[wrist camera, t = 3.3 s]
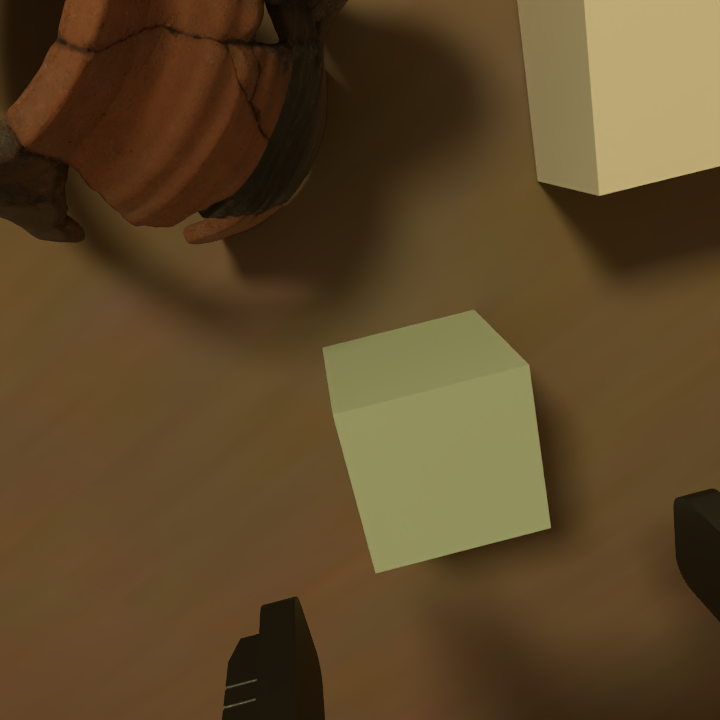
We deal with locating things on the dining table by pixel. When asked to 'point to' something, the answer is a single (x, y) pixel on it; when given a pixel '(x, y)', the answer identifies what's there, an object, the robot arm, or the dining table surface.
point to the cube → (438, 438)
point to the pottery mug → (169, 114)
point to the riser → (622, 90)
